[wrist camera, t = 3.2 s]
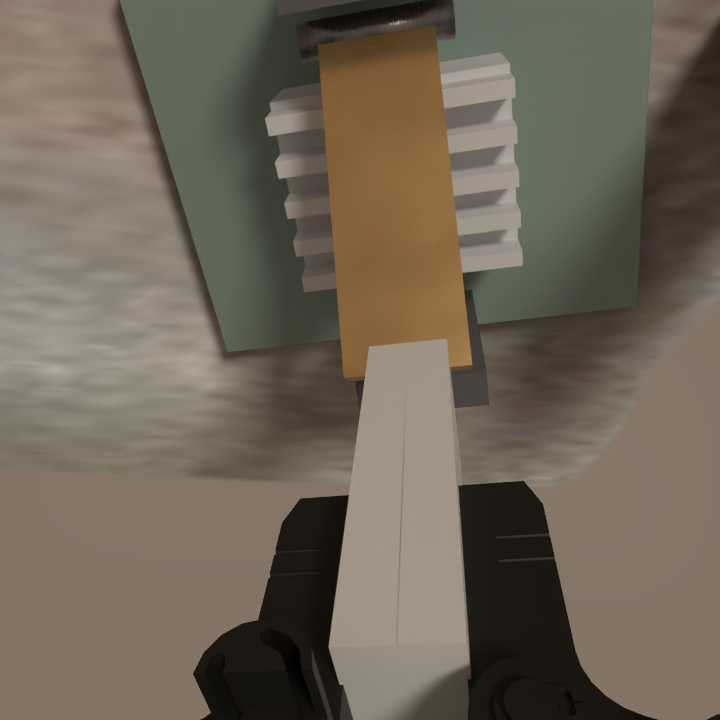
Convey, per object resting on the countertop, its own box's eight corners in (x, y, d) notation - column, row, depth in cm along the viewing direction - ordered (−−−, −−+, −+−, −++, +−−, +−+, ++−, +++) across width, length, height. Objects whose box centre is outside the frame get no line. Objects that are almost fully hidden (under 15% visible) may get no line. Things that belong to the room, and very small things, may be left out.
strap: (330, 384, 17) (321, 379, 16) (304, 38, 18) (295, 14, 17) (493, 367, 16) (494, 361, 15) (452, 12, 18) (451, -14, 17)
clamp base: (234, 337, 28) (186, 440, 22) (126, -26, 21) (14, -19, 15) (628, 292, 26) (692, 393, 20) (646, -131, 19) (752, -170, 13)
